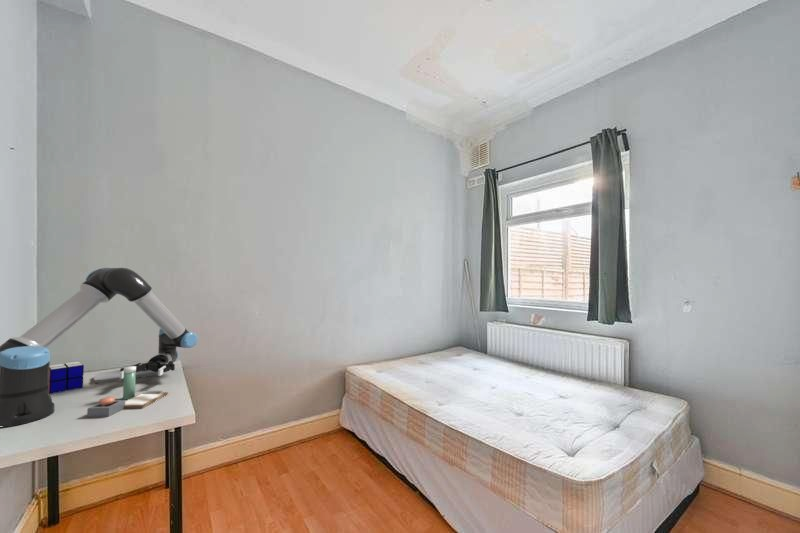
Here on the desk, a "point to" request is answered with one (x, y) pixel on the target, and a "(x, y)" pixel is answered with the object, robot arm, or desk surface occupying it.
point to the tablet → (118, 376)
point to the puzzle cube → (65, 377)
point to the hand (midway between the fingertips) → (140, 374)
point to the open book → (144, 399)
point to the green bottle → (129, 382)
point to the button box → (105, 409)
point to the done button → (107, 401)
